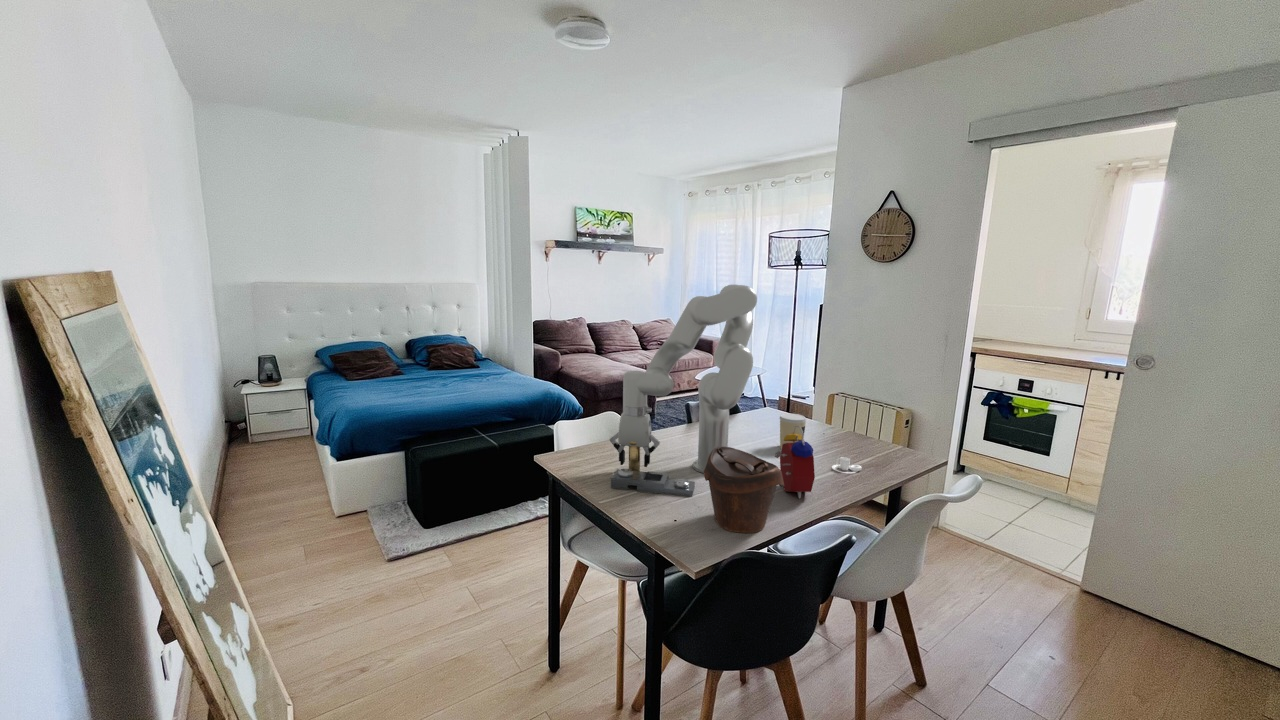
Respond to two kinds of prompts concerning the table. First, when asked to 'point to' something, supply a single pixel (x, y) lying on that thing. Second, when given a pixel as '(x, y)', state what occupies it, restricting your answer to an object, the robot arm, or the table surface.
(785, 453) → the alarm clock
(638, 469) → the pin
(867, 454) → the table surface
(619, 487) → the grey bolted base plate
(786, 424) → the coffee cup
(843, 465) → the teacup and saucer
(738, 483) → the brown flower pot
